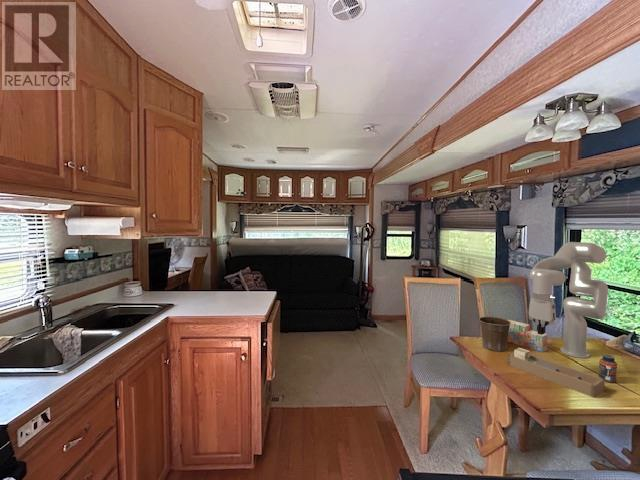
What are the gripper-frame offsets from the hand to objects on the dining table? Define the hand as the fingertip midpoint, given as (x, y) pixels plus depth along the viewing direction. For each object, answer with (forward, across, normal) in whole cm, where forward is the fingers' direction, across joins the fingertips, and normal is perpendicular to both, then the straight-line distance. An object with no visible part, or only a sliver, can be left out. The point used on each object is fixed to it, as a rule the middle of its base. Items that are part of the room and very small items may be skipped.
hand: (541, 333), depth 147 cm
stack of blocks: (+20, +21, -29) cm, 41 cm away
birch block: (+16, +8, +1) cm, 18 cm away
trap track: (+19, -5, 0) cm, 20 cm away
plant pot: (+19, +28, -10) cm, 35 cm away
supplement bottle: (+19, -20, -18) cm, 33 cm away
